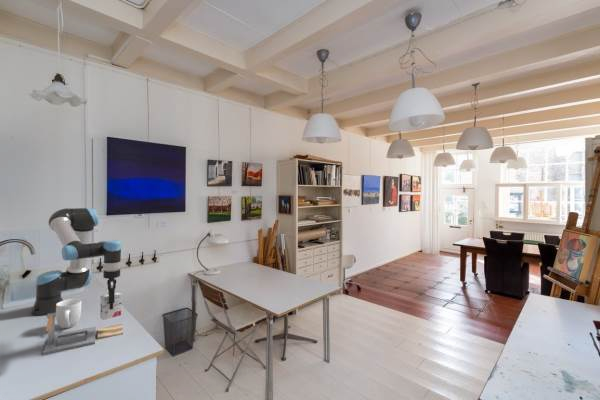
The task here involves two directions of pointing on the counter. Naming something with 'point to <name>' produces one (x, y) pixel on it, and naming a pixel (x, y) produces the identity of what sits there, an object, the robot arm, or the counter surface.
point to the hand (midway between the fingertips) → (110, 312)
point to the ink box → (105, 306)
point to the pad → (110, 331)
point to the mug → (68, 312)
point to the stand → (54, 337)
